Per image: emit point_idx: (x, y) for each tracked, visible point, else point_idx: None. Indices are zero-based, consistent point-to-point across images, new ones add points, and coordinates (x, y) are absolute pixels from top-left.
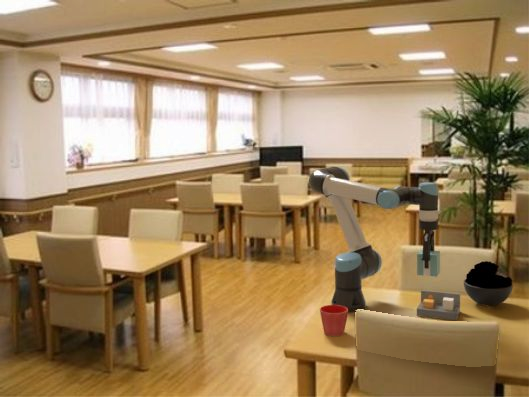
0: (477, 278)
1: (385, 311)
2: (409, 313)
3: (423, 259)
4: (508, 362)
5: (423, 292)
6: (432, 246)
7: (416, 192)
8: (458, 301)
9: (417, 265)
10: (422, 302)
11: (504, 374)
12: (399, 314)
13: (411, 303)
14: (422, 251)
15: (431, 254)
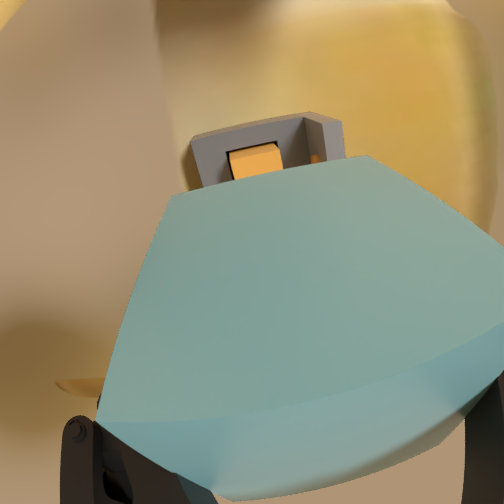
0: None
1: (166, 13)
2: (201, 99)
3: (75, 428)
4: (91, 385)
5: (320, 135)
6: (466, 481)
7: None
8: None
9: (148, 255)
10: (294, 127)
11: (56, 382)
12: (164, 73)
13: (336, 60)
14: (441, 386)
15: (240, 491)
